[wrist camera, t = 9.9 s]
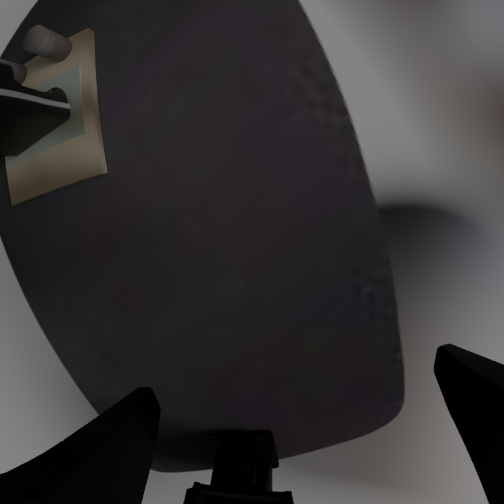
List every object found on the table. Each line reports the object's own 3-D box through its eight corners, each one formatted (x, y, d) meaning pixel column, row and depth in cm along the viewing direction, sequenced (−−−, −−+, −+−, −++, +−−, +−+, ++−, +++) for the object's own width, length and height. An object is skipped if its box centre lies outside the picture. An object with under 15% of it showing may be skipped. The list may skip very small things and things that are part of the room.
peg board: (107, 172, 19) (68, 177, 15) (19, 203, 20) (-21, 214, 16) (94, 32, 16) (60, 10, 12) (9, 80, 17) (-28, 73, 12)
